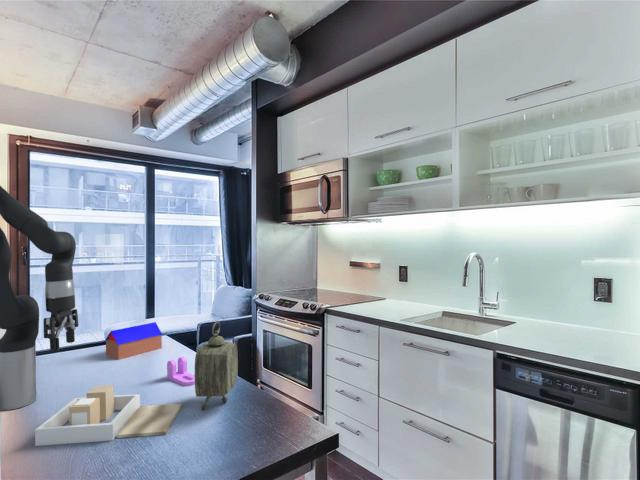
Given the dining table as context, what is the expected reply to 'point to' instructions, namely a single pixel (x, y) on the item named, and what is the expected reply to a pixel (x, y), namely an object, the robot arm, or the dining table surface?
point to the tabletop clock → (215, 368)
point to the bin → (60, 434)
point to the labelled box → (85, 412)
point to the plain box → (104, 399)
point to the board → (150, 421)
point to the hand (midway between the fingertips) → (63, 346)
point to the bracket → (180, 372)
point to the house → (133, 341)
